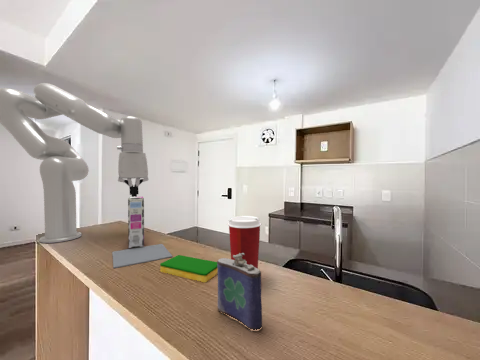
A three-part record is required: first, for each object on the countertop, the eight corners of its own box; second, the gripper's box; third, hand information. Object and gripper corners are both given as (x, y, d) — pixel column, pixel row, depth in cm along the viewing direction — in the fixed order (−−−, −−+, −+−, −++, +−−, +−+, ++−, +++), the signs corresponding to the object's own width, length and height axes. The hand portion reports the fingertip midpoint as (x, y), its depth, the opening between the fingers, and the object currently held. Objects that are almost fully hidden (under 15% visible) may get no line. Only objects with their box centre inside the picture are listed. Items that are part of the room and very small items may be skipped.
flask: (214, 310, 39) (214, 249, 39) (226, 303, 41) (226, 245, 41) (255, 335, 33) (255, 263, 33) (267, 325, 35) (267, 258, 35)
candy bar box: (145, 247, 73) (144, 197, 73) (128, 249, 71) (127, 198, 71) (144, 239, 83) (143, 195, 83) (129, 241, 81) (128, 196, 81)
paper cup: (264, 273, 53) (263, 216, 53) (258, 289, 46) (257, 222, 45) (233, 270, 55) (232, 214, 55) (222, 285, 48) (222, 220, 48)
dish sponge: (205, 284, 49) (205, 273, 49) (159, 273, 55) (159, 263, 55) (221, 272, 55) (221, 262, 55) (178, 263, 61) (178, 254, 61)
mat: (112, 252, 69) (112, 251, 69) (162, 244, 77) (162, 243, 77) (113, 268, 57) (113, 267, 57) (172, 257, 65) (172, 256, 65)
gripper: (110, 147, 79) (112, 198, 79) (154, 149, 87) (156, 195, 87) (110, 150, 85) (111, 197, 86) (151, 151, 93) (152, 194, 93)
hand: (134, 196), depth 86 cm, fingers closed
